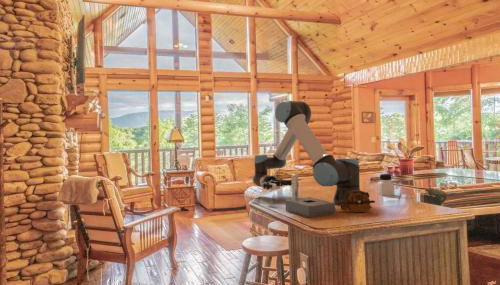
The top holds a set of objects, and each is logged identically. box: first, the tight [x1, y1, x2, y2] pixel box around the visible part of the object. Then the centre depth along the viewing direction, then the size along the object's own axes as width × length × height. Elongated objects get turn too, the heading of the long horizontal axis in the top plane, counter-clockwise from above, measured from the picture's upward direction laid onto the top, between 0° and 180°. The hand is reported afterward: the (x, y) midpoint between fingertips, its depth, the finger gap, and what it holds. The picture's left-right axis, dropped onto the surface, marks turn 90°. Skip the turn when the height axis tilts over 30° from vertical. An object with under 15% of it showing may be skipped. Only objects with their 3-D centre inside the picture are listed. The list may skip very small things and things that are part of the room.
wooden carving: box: [338, 190, 376, 213], centre depth 171 cm, size 16×5×10 cm, turn 87°
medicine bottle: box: [377, 173, 395, 197], centre depth 217 cm, size 7×7×12 cm
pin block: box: [285, 196, 336, 219], centre depth 175 cm, size 20×14×5 cm
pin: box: [291, 173, 300, 199], centre depth 192 cm, size 3×3×16 cm
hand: (287, 185), depth 198 cm, fingers open, 13 cm apart
